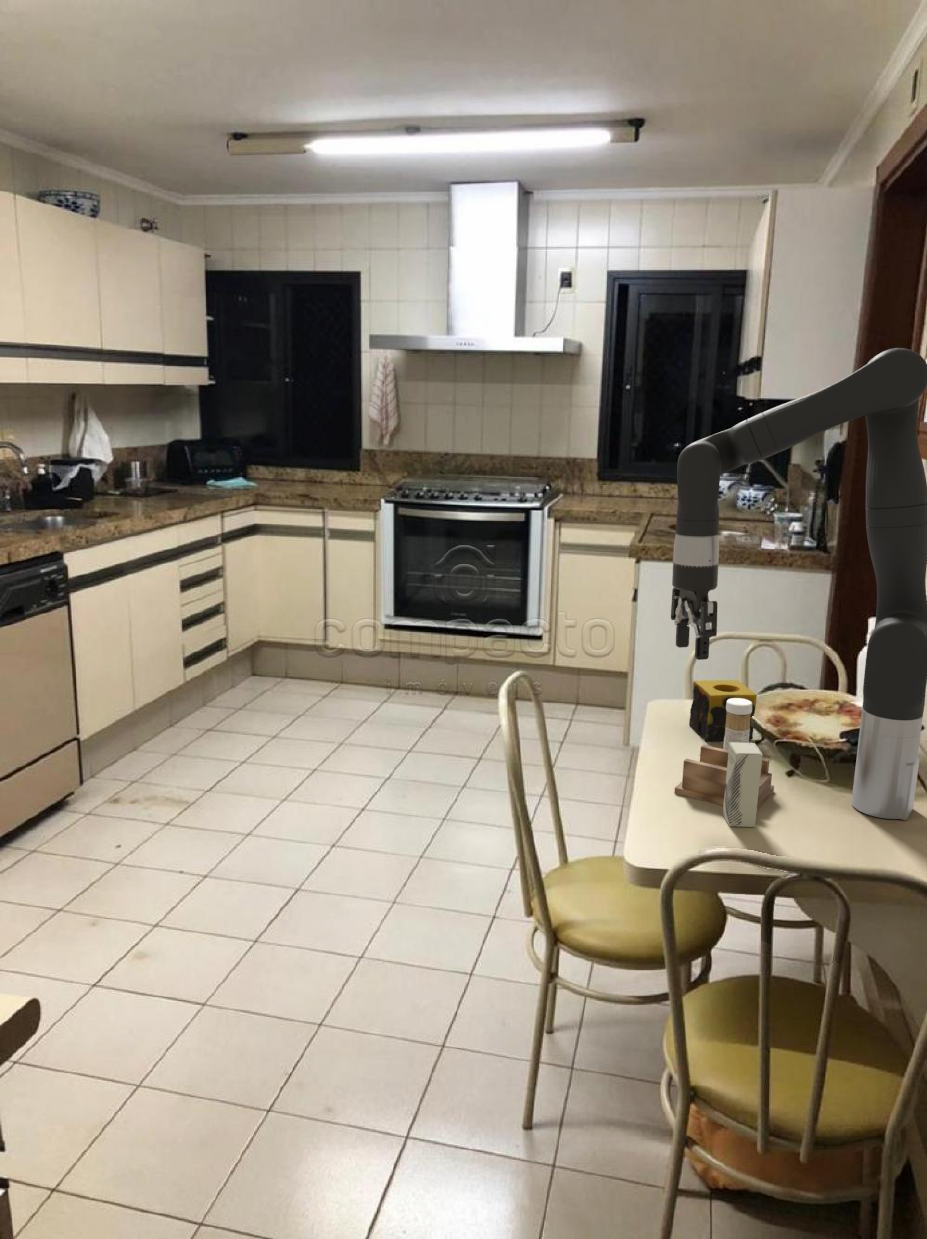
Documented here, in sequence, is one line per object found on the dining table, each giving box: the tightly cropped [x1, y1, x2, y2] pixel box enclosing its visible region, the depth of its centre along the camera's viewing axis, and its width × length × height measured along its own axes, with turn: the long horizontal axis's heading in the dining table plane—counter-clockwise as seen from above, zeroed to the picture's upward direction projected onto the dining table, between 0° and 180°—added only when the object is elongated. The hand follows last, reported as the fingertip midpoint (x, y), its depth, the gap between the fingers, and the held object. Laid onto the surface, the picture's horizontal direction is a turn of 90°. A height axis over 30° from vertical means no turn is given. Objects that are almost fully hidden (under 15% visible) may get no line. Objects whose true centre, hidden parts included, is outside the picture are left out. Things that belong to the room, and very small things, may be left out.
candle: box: [688, 679, 758, 742], centre depth 197 cm, size 10×10×10 cm
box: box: [722, 742, 763, 828], centre depth 156 cm, size 5×4×13 cm
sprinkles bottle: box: [722, 698, 752, 750], centre depth 177 cm, size 5×5×14 cm
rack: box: [673, 744, 775, 810], centre depth 168 cm, size 14×11×6 cm
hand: (691, 652), depth 167 cm, fingers open, 8 cm apart
